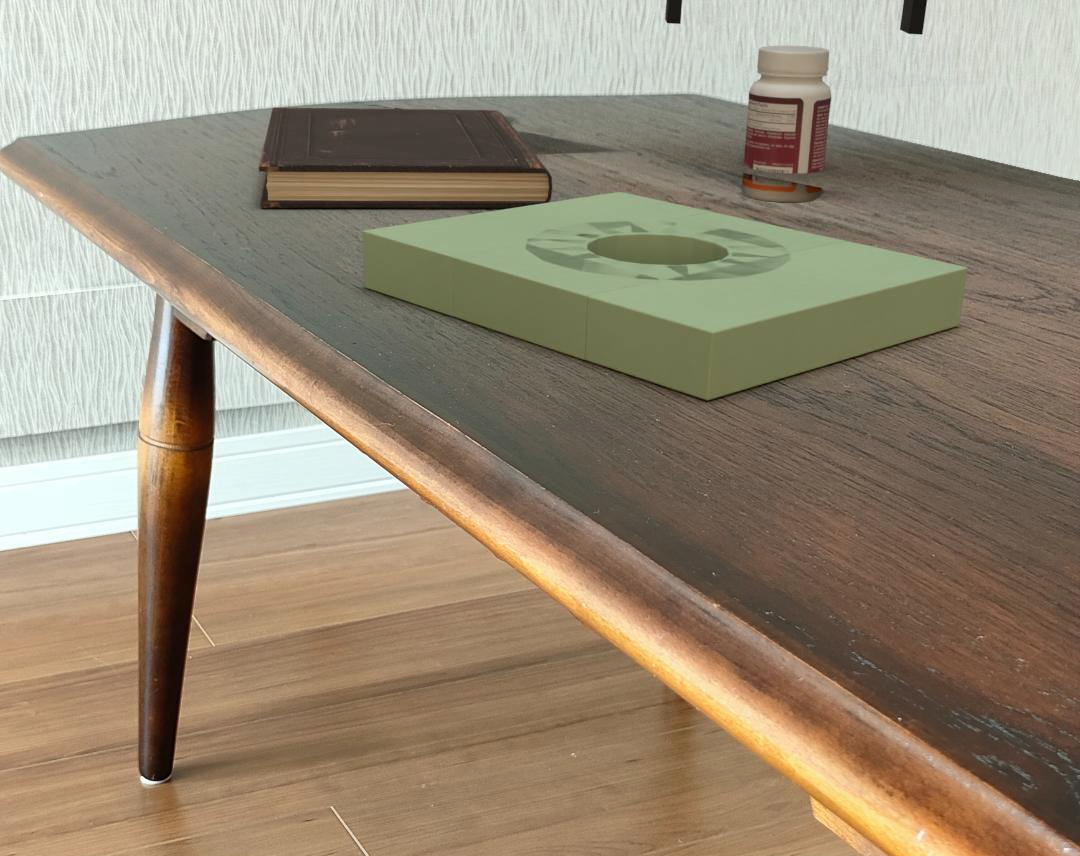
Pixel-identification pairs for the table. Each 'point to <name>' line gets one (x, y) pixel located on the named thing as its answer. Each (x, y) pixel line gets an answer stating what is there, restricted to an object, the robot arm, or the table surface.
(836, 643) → the table surface
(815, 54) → the pill bottle
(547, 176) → the hardcover book
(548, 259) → the socket pad
